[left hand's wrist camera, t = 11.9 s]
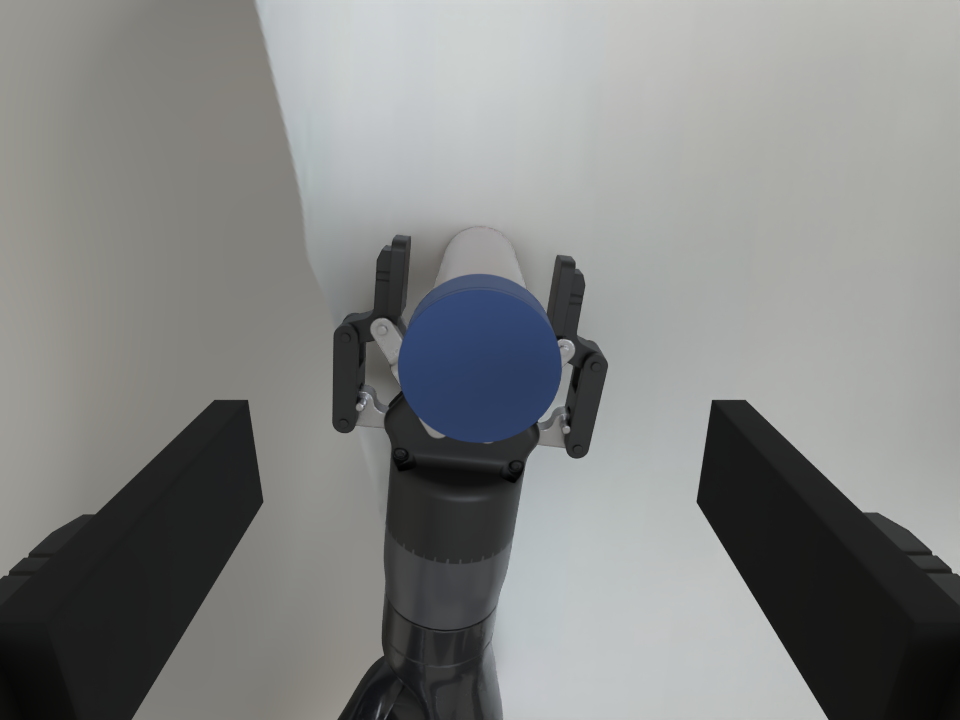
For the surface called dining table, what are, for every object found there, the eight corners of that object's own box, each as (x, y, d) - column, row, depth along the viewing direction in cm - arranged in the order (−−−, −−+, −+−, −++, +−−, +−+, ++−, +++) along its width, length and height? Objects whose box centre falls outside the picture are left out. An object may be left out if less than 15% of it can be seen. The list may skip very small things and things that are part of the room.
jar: (473, 211, 34) (466, 271, 18) (531, 257, 35) (575, 354, 19) (428, 270, 35) (385, 376, 19) (486, 313, 36) (491, 449, 20)
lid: (465, 242, 19) (464, 255, 17) (583, 332, 21) (595, 356, 18) (377, 358, 21) (365, 383, 19) (492, 437, 22) (493, 471, 20)
